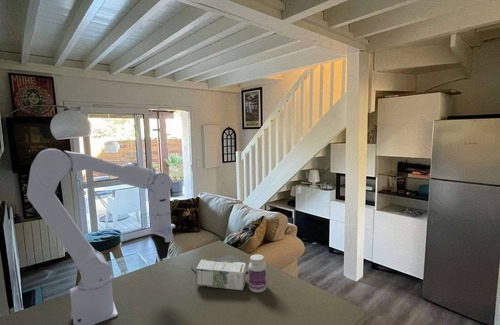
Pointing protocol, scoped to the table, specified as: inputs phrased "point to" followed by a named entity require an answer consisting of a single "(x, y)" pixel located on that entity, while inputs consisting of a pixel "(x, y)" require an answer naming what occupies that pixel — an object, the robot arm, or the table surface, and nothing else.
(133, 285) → the table surface
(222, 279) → the syrup box
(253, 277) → the pill bottle
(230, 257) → the rubber mat
